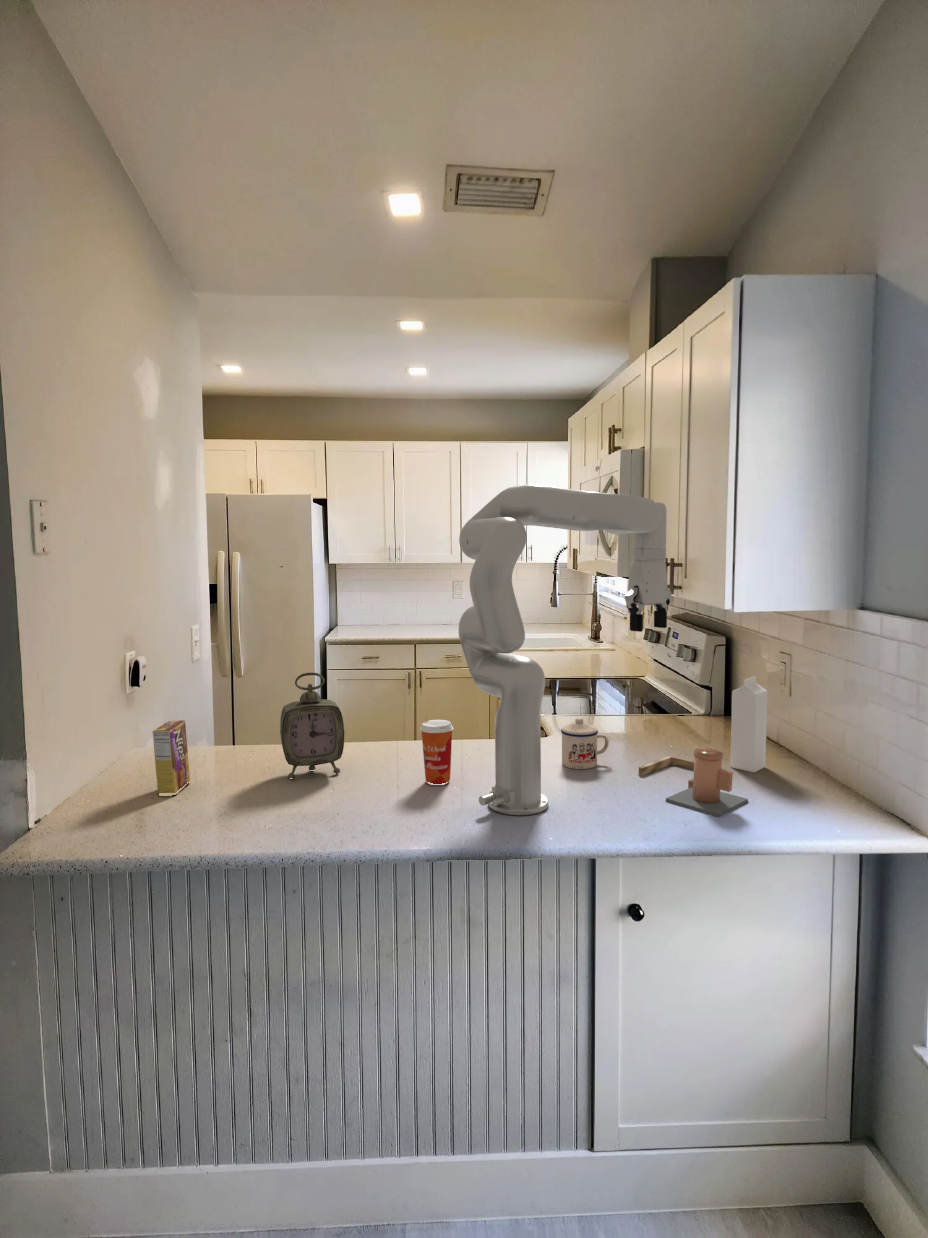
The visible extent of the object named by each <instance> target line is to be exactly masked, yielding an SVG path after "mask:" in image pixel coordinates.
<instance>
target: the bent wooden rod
mask: <svg viewBox="0 0 928 1238" xmlns="http://www.w3.org/2000/svg"><path fill="white" fill-rule="evenodd" d="M671 765H674V766H678V767H681V768H685V769H689V770H693V771H694V760H691V759H687V758H682V757H679V756H671V755H667V756H665V757H663V758H659V759H656V760H654V761H652V762H649V763H646V764H644V765H640V766H638V776H643V777H644V776H645V775H647V774H649V773H650V774H651V773H653V772H655V771H658V770H661V769H663V768H665V767H668V766H671ZM721 769H723V768H721ZM693 779H694V777H693V778H690V779H689V780H688V782H687V783H688V787H687V789H688V788H690V787H693Z"/></svg>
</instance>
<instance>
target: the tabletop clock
mask: <svg viewBox="0 0 928 1238" xmlns="http://www.w3.org/2000/svg"><path fill="white" fill-rule="evenodd" d="M307 676H308V677H309V676H316V677H319V678H321V680H322V682H321V684H319V685H317V686H313V684H312V683H308V685H307V687H303V686H301V685H299V684H298V681H299V680H300V679H301V678H304V677H307ZM325 681H326V680H325V678H324V676H323V675H321V673H318V672H312V671H311V672H305V673H302V674H300V675H298V676H297V677H296V678H295V681H294V684H295V687H296V688H298V689H299V690H302V691H304V692H303V693H302V694H301V695H300V697H299V700H296V701H292V702H289V703H287V704H285V705H283V707H282V710H281V714H280V723H279V733H280V734H279V735H280V741H281V743H280V744H281V747H282V751H283V755H284V758H285V761H286V762H287V764H288V765H291V766H292V770H291V772H289V773H288V775H287V777H288V778H287V779H289V778H294V777H295V778H296V774H295V771H296V769H297V767H308V766H309V767H308V770H309V771H310V770H314V769H315V770H316V766H320V765H325V764H331V767H332V768H333V774H334V773H336V774H335V775H339V774H340V773H341V768H339V767H337V766H336V764H335V762H336V761H339V760H340V759H341V758H342V755H343V753H344V747H345V727H344V726H345V725H344V718H343V714H342V711H341V710H340V708H339V706H338V704H337V703H336V702H335V701H334V700H331V699H324V698H323V699H322V698H321V697H322V696H321V695H320V694H319V693H318V692H317V691H314V690H318V689H321V688H322V686H324V684H325ZM338 773H339V774H338ZM295 778H294V779H295Z"/></svg>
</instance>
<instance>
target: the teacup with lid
mask: <svg viewBox="0 0 928 1238" xmlns="http://www.w3.org/2000/svg"><path fill="white" fill-rule="evenodd" d="M560 732H561V764H562V765H563V766H564V767H566V768H569V769H571V770H572V769H573V770H588V769H592V768H595V767H596V766H597V765H598V755H602V754H604V753H605V752H606V751H607V749H608V748H609V745H610V744H609V743H610V742H609V738H608V737H607V736H606V735H605V734H601V733H599V730H598V728H597V727H596V726H595V725H591V724H589V723H587V722H586V721H584V718H583V717H576V718H575V721H572V722H571V723H569V724H566V725H563V726H562V727H561V729H560ZM599 738H600V739H604V746H603V747H602V748H601V749H600V750H598V739H599Z"/></svg>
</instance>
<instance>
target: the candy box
mask: <svg viewBox="0 0 928 1238" xmlns="http://www.w3.org/2000/svg"><path fill="white" fill-rule="evenodd" d="M152 737H153V738H152V739H153V740H152V741H153V750H154V751H153V752H154V764H155V776H156V777H155V778H156V786H157V794H158V793H176V792H177V791H178V790H179V789H180V788H182V787H183V786H184V785H185V784H187V782H189V781H190V782H191V775H190V762H189V753H188V752H189V751H188V740H187V738H188V737H187V729H186V720H184V719H182V720H169V721H166V722H165V723H163V724H161V725H160V726H158V727H156V728H155V729H154V730H152Z"/></svg>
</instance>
